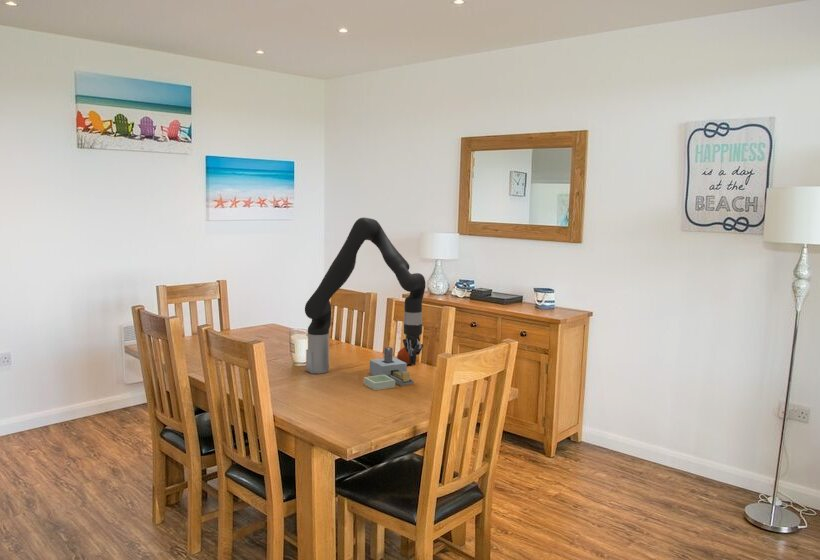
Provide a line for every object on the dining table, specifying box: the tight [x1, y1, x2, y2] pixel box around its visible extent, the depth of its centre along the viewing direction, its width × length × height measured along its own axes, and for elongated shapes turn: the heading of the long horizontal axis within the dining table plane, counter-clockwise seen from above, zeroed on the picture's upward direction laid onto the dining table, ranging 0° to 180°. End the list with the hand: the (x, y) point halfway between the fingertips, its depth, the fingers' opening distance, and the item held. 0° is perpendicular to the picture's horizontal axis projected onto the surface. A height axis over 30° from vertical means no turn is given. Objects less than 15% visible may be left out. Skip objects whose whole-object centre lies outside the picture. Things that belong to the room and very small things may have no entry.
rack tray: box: [363, 375, 396, 391], centre depth 267 cm, size 10×10×3 cm
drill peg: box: [383, 346, 394, 375], centre depth 283 cm, size 4×4×12 cm
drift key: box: [392, 370, 410, 382], centre depth 273 cm, size 9×3×4 cm, turn 30°
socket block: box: [369, 356, 415, 387], centre depth 278 cm, size 23×12×6 cm, turn 30°
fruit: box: [396, 346, 411, 365], centre depth 302 cm, size 9×9×8 cm
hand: (412, 364), depth 265 cm, fingers closed
